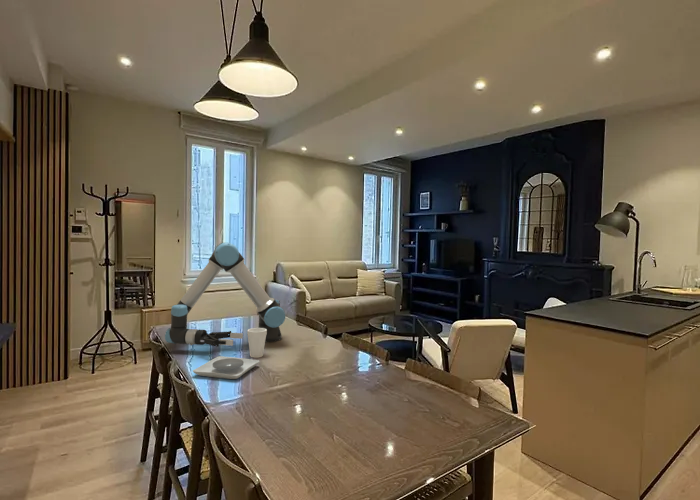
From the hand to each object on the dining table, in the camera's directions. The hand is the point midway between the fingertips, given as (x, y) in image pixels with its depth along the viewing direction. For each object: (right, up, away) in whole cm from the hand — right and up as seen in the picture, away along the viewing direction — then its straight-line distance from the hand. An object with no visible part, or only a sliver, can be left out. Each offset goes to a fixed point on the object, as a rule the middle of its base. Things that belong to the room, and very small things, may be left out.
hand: (237, 339), depth 192 cm
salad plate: (+3, -9, -24) cm, 26 cm away
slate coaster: (+3, -5, -24) cm, 25 cm away
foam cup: (+10, -8, -1) cm, 13 cm away
